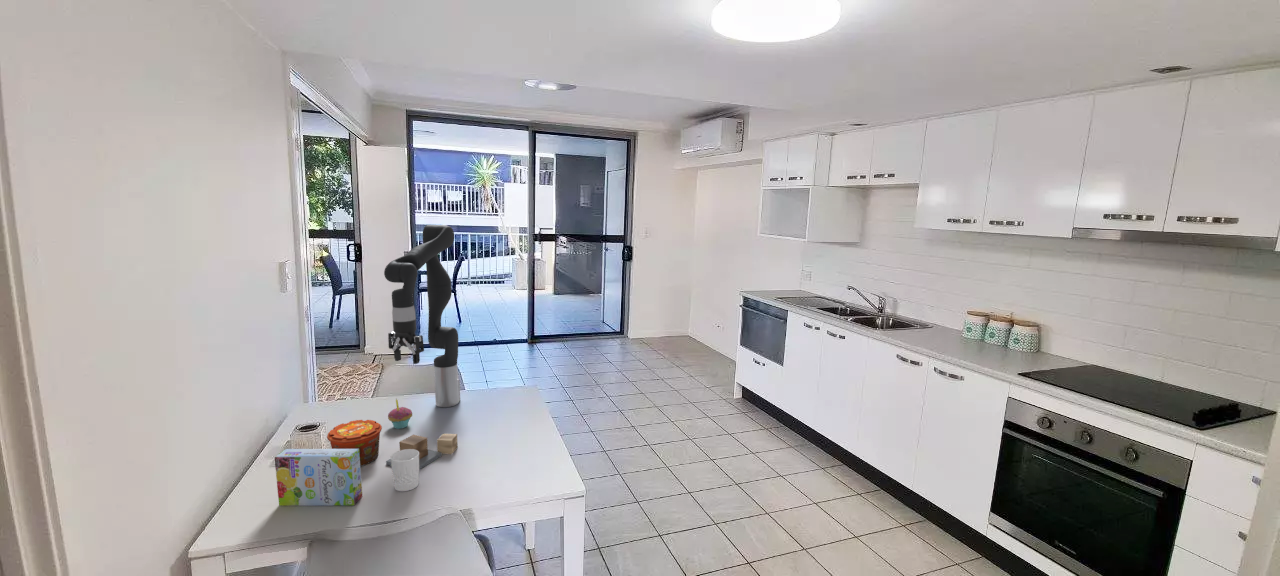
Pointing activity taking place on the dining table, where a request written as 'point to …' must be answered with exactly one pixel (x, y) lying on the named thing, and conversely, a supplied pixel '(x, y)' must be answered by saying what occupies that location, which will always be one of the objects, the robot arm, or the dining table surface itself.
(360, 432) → the food container
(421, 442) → the walnut block
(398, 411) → the cupcake
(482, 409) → the dining table surface
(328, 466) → the snack box
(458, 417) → the dining table surface
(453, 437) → the oak block
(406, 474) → the white cup
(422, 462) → the slate coaster
